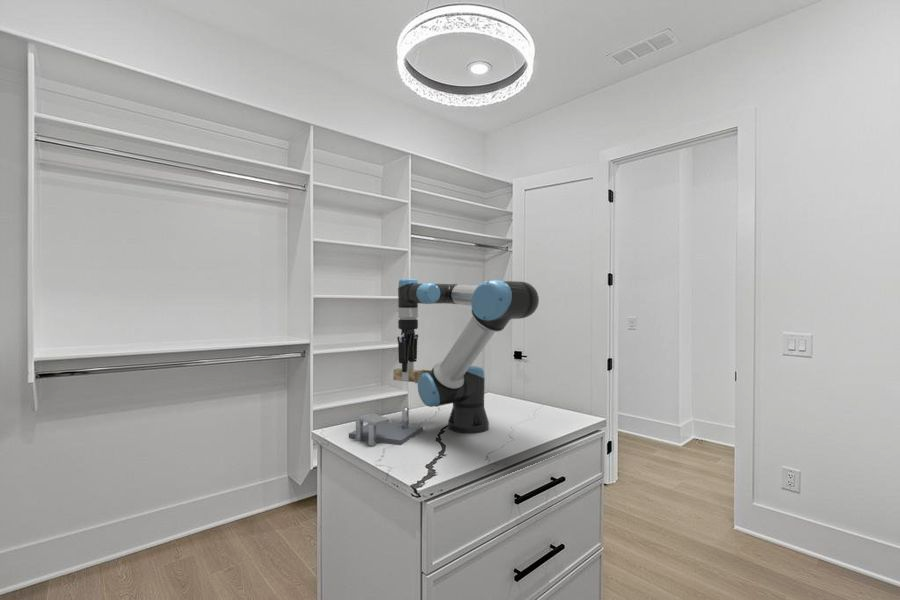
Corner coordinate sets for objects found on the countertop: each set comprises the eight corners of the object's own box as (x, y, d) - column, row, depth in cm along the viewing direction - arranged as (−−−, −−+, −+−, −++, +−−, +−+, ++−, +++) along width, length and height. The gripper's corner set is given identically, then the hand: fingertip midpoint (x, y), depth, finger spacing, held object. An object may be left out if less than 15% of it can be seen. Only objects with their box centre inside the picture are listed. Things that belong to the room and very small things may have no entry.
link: (439, 381, 170) (439, 371, 170) (431, 384, 163) (432, 373, 163) (399, 377, 176) (399, 367, 176) (391, 380, 169) (391, 370, 169)
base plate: (422, 430, 160) (422, 426, 160) (401, 444, 144) (401, 440, 144) (374, 424, 167) (374, 420, 167) (348, 437, 151) (348, 433, 151)
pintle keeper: (409, 431, 158) (409, 407, 158) (383, 447, 141) (383, 421, 141) (378, 427, 163) (378, 404, 163) (349, 443, 146) (349, 417, 146)
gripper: (408, 317, 180) (408, 375, 180) (388, 319, 164) (388, 382, 164) (425, 318, 177) (425, 376, 177) (407, 319, 162) (407, 384, 162)
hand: (408, 379), depth 171 cm, fingers closed on link, 3 cm apart
